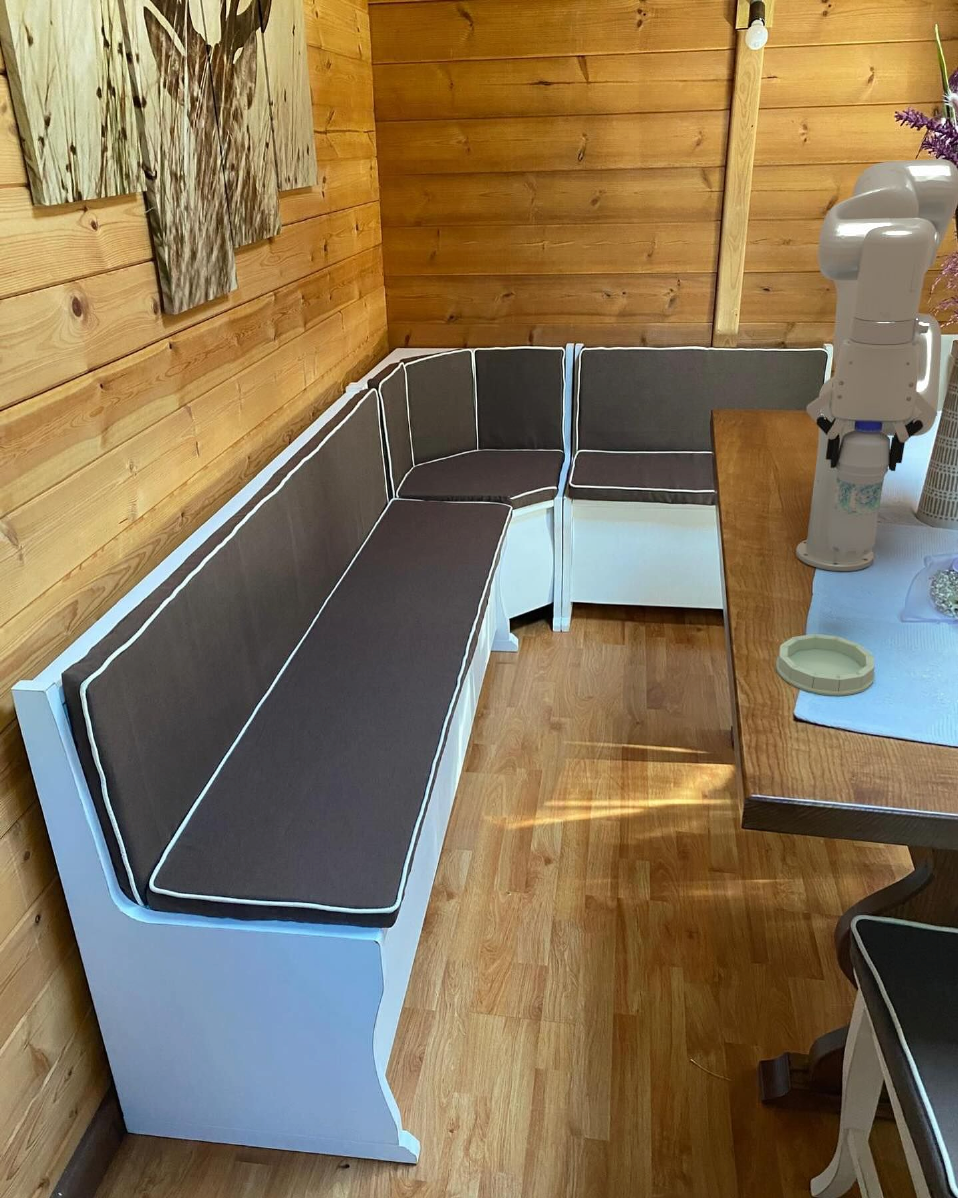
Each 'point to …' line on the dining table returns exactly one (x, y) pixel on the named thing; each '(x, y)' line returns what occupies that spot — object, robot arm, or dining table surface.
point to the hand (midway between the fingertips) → (862, 465)
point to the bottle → (858, 489)
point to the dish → (826, 665)
